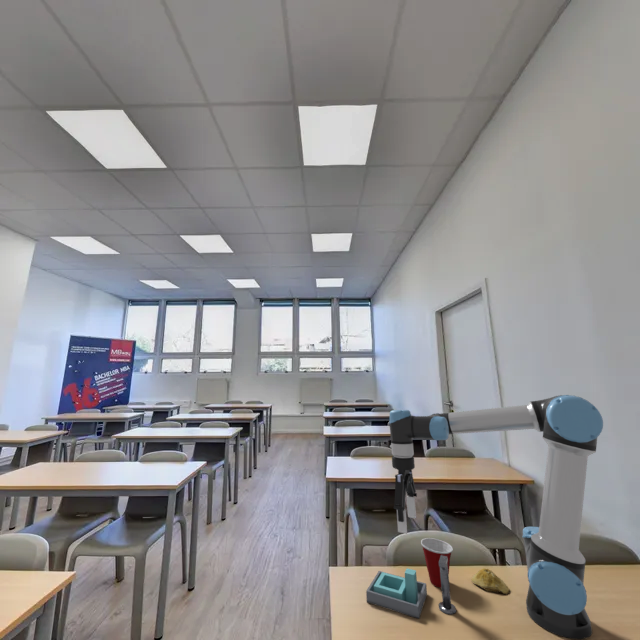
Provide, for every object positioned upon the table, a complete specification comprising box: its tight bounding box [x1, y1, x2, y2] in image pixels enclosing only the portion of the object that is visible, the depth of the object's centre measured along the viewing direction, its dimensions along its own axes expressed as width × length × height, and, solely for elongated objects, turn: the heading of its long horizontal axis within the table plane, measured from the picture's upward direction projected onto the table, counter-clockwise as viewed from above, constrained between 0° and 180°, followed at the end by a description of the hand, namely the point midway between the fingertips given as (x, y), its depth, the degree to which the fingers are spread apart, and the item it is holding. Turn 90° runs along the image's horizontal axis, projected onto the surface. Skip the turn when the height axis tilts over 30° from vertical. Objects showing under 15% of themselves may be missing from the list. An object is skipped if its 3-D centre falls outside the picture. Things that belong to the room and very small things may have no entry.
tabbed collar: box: [374, 568, 418, 604], centre depth 101 cm, size 12×9×8 cm
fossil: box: [471, 567, 510, 595], centre depth 107 cm, size 11×6×10 cm
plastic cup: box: [420, 537, 454, 589], centre depth 109 cm, size 11×11×12 cm
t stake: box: [438, 555, 457, 616], centre depth 96 cm, size 5×5×13 cm
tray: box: [365, 570, 428, 620], centre depth 100 cm, size 16×13×3 cm
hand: (407, 524), depth 102 cm, fingers open, 13 cm apart
